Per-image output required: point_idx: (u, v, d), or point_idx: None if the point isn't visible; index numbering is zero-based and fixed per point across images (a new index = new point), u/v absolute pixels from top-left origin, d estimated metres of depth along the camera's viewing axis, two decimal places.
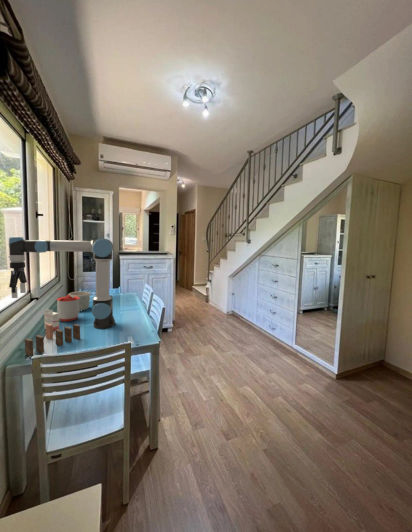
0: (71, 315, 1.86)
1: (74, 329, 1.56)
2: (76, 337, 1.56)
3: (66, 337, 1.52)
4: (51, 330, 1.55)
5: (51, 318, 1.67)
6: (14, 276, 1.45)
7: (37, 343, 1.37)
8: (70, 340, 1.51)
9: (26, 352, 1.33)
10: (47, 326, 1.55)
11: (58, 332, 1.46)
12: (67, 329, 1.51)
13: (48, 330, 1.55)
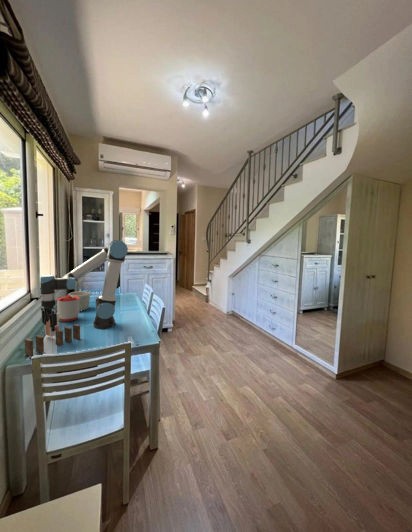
0: (71, 315, 1.86)
1: (74, 329, 1.56)
2: (76, 337, 1.56)
3: (66, 337, 1.52)
4: None
5: None
6: (55, 316, 1.53)
7: (37, 343, 1.37)
8: (70, 340, 1.51)
9: (26, 352, 1.33)
10: (48, 323, 1.55)
11: (58, 332, 1.46)
12: (67, 329, 1.51)
13: (48, 328, 1.55)
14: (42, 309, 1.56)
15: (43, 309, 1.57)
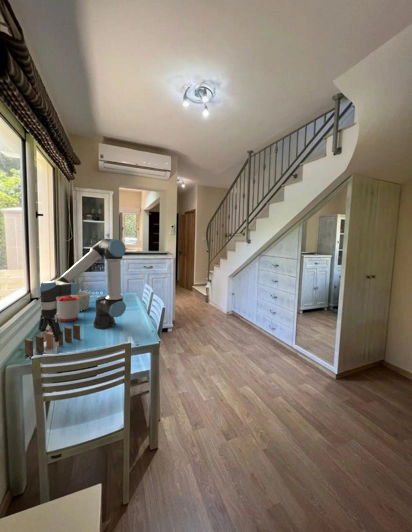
0: (71, 315, 1.86)
1: (74, 329, 1.56)
2: (76, 337, 1.56)
3: (66, 337, 1.52)
4: (52, 339, 1.41)
5: None
6: (57, 324, 1.38)
7: (37, 343, 1.37)
8: (70, 340, 1.51)
9: (26, 352, 1.33)
10: (48, 335, 1.42)
11: None
12: (67, 329, 1.51)
13: (48, 339, 1.42)
14: (41, 317, 1.43)
15: None
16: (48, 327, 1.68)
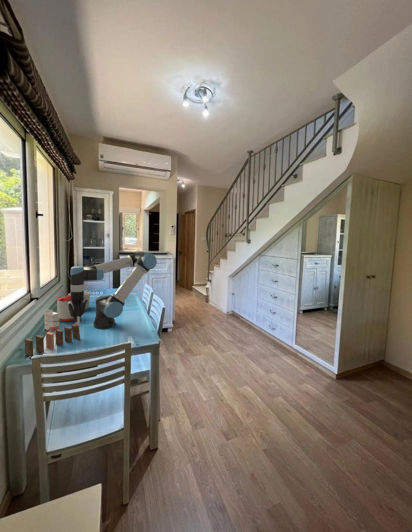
0: None
1: (73, 329, 1.56)
2: (76, 337, 1.56)
3: (66, 337, 1.52)
4: (52, 339, 1.41)
5: (51, 318, 1.67)
6: (70, 308, 1.51)
7: (37, 343, 1.37)
8: (70, 340, 1.51)
9: (26, 352, 1.33)
10: (47, 335, 1.42)
11: (58, 332, 1.46)
12: (67, 329, 1.51)
13: (48, 339, 1.42)
14: None
15: None
16: (48, 327, 1.68)
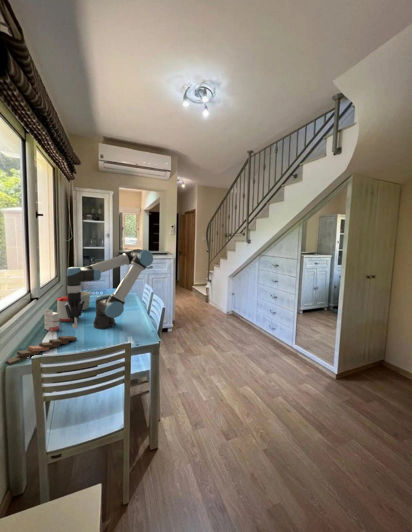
0: None
1: None
2: None
3: None
4: (38, 349, 1.35)
5: (51, 318, 1.67)
6: (67, 309, 1.50)
7: None
8: (66, 342, 1.49)
9: None
10: None
11: None
12: None
13: None
14: None
15: None
16: (48, 327, 1.68)
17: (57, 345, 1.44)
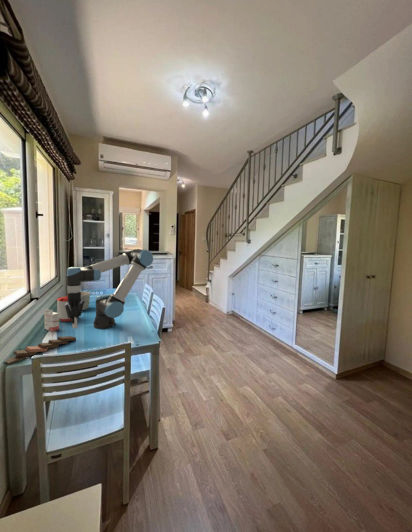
0: None
1: None
2: None
3: None
4: (36, 350, 1.34)
5: (51, 318, 1.67)
6: (67, 309, 1.50)
7: None
8: (65, 342, 1.49)
9: None
10: None
11: None
12: None
13: None
14: None
15: None
16: (48, 327, 1.68)
17: (56, 345, 1.44)
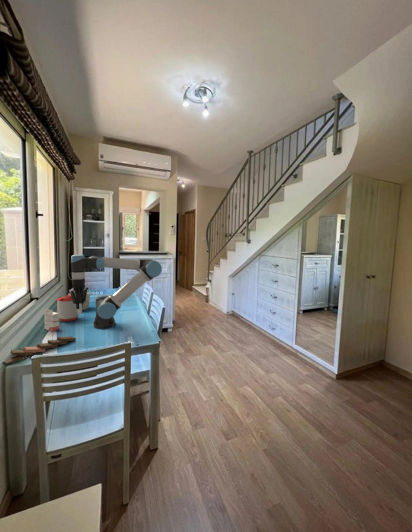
0: (71, 315, 1.86)
1: None
2: None
3: None
4: (33, 350, 1.33)
5: (51, 318, 1.67)
6: (72, 295, 1.55)
7: None
8: (65, 342, 1.48)
9: None
10: None
11: None
12: None
13: None
14: None
15: None
16: (48, 327, 1.68)
17: (55, 346, 1.43)
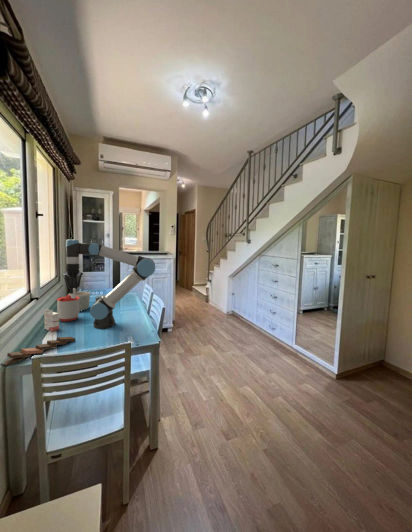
0: (71, 315, 1.86)
1: None
2: None
3: None
4: (32, 352, 1.32)
5: (51, 318, 1.67)
6: (66, 279, 1.57)
7: None
8: (64, 343, 1.48)
9: None
10: None
11: None
12: None
13: None
14: None
15: None
16: (48, 327, 1.68)
17: (54, 346, 1.43)
